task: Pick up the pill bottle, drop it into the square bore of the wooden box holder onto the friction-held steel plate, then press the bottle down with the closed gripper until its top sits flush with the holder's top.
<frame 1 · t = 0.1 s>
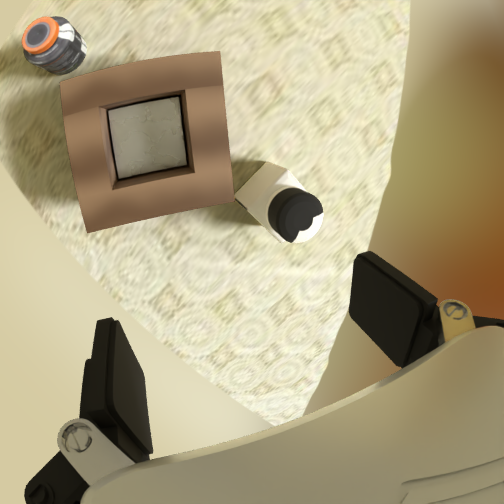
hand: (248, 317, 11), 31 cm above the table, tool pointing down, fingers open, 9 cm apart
wooden box holder: (148, 134, 34), on the table
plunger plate: (147, 137, 28), point 7 cm above the table, slide at 0.0 cm
medicine bottle: (264, 194, 43), on the table
pill bottle: (67, 55, 25), on the table
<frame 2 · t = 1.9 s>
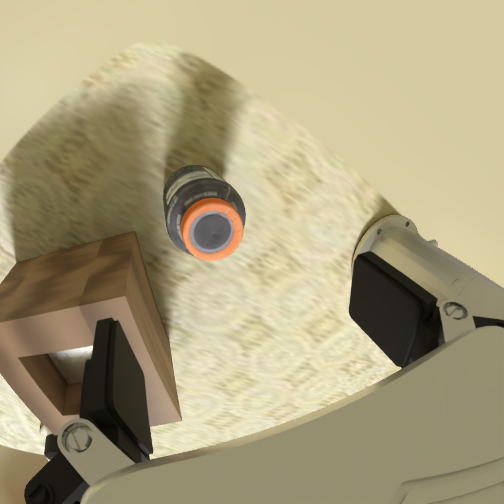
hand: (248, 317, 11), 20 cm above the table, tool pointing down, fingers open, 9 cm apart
wooden box holder: (92, 307, 30), on the table
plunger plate: (82, 351, 23), point 7 cm above the table, slide at 0.0 cm
medicine bottle: (71, 397, 34), on the table
pill bottle: (192, 193, 29), on the table
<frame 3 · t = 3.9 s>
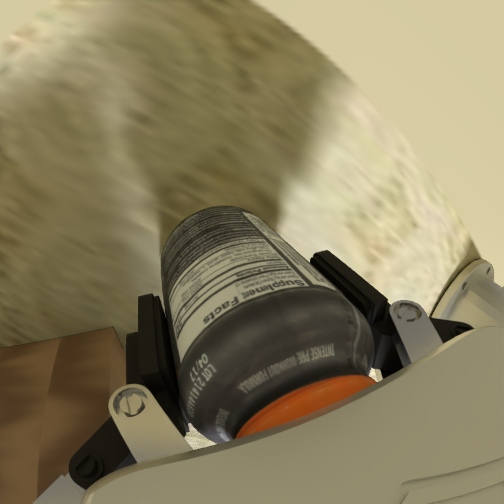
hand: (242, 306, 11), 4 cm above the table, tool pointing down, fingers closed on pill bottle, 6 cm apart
wooden box holder: (66, 417, 16), on the table
pill bottle: (218, 258, 15), on the table, touching gripper
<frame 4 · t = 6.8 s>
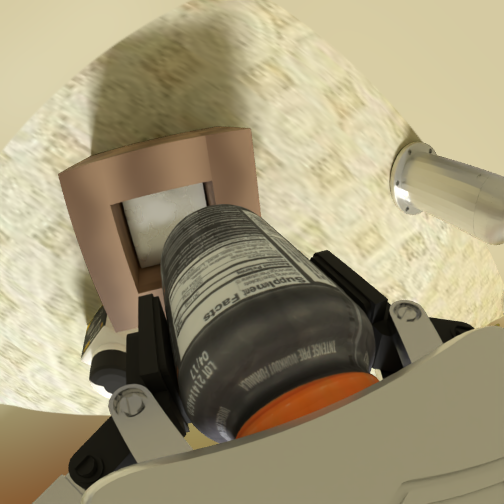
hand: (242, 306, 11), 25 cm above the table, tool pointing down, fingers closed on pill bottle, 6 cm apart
wooden box holder: (166, 201, 33), on the table
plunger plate: (168, 222, 27), point 7 cm above the table, slide at 0.0 cm
medicine bottle: (118, 322, 38), on the table
pill bottle: (218, 257, 15), point 21 cm above the table, touching gripper
when the fingers open (13 cm above the table, at t = 9.7 s): pill bottle drops 8 cm, resting on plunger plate.
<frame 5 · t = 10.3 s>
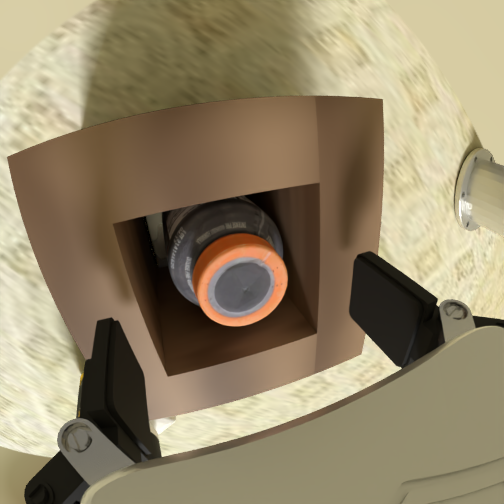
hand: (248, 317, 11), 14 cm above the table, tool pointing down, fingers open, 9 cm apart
wooden box holder: (194, 210, 23), on the table
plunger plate: (195, 211, 22), resting in wooden box holder, slide at 7.1 cm, touching pill bottle
medicine bottle: (122, 370, 27), on the table
pill bottle: (200, 211, 22), point 1 cm above the table, touching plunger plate
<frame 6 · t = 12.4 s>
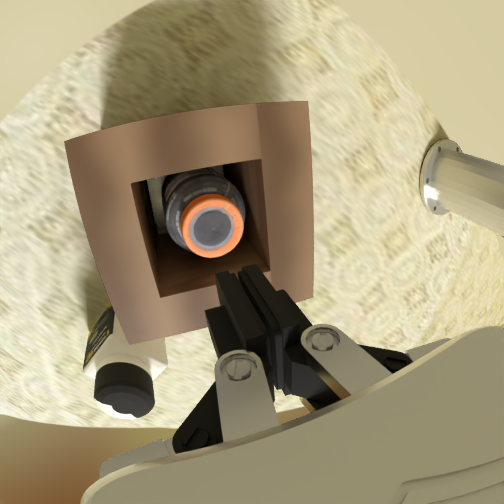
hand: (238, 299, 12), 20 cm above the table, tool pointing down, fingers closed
wooden box holder: (186, 189, 29), on the table
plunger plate: (187, 190, 28), resting in wooden box holder, slide at 7.1 cm, touching pill bottle
medicine bottle: (125, 328, 33), on the table
pill bottle: (191, 190, 28), point 1 cm above the table, touching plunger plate
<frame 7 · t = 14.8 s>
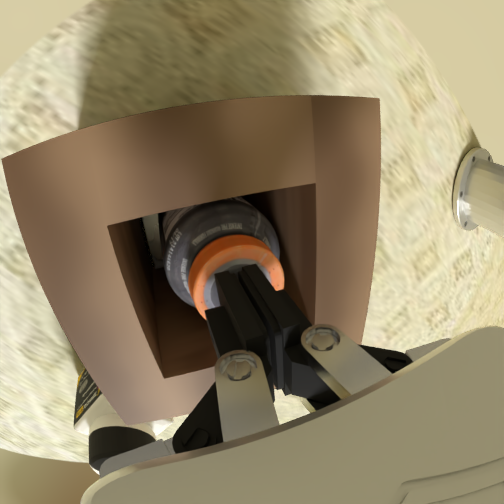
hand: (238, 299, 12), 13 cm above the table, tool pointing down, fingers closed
wooden box holder: (190, 210, 22), on the table
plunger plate: (191, 212, 22), resting in wooden box holder, slide at 7.1 cm
medicine bottle: (119, 371, 27), on the table
pill bottle: (196, 211, 22), point 1 cm above the table
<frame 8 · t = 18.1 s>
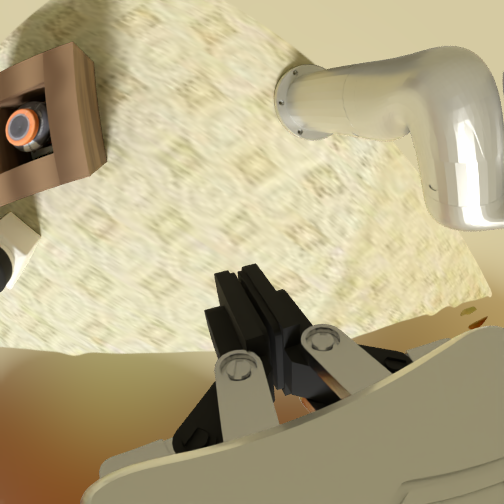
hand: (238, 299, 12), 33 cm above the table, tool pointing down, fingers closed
wooden box holder: (51, 126, 31), on the table
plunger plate: (50, 126, 31), resting in wooden box holder, slide at 7.1 cm, touching pill bottle
medicine bottle: (17, 239, 36), on the table
pill bottle: (52, 125, 31), point 1 cm above the table, touching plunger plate
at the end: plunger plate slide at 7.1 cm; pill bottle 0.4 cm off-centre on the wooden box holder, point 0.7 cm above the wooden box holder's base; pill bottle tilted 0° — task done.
